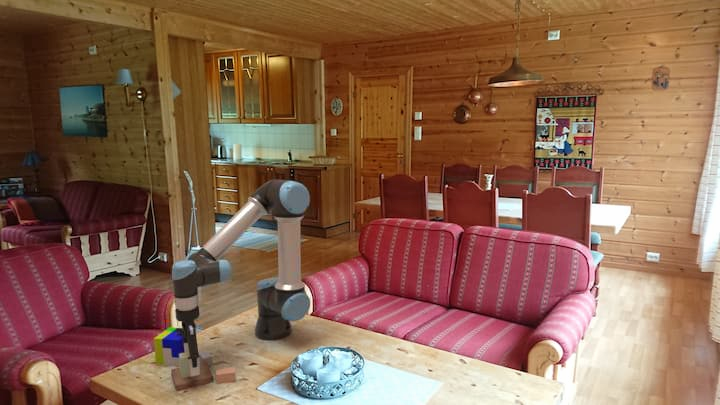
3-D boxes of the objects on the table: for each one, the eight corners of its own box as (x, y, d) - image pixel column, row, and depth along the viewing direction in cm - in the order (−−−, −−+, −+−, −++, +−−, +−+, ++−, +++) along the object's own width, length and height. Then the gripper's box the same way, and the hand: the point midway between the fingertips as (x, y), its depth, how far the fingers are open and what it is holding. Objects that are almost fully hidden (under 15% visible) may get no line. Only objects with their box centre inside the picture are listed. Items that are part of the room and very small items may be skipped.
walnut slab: (207, 366, 174) (206, 361, 173) (213, 381, 163) (213, 376, 163) (171, 374, 168) (171, 369, 168) (176, 391, 158) (175, 385, 157)
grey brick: (198, 361, 178) (198, 352, 177) (208, 358, 180) (207, 349, 179) (203, 367, 173) (202, 358, 172) (213, 365, 175) (212, 356, 174)
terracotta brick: (235, 376, 166) (234, 367, 166) (235, 382, 163) (234, 372, 163) (217, 379, 165) (216, 369, 164) (217, 384, 162) (216, 374, 161)
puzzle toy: (180, 366, 174) (178, 340, 172) (156, 364, 176) (153, 338, 174) (195, 353, 184) (193, 329, 182) (171, 351, 186) (169, 327, 184)
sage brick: (198, 368, 168) (197, 349, 167) (200, 373, 165) (199, 354, 164) (180, 372, 165) (178, 353, 164) (182, 378, 162) (180, 358, 161)
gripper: (170, 298, 170) (175, 355, 174) (180, 321, 149) (185, 386, 153) (192, 294, 174) (197, 350, 177) (205, 316, 153) (210, 380, 156)
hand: (192, 367), depth 165 cm, fingers open, 11 cm apart
